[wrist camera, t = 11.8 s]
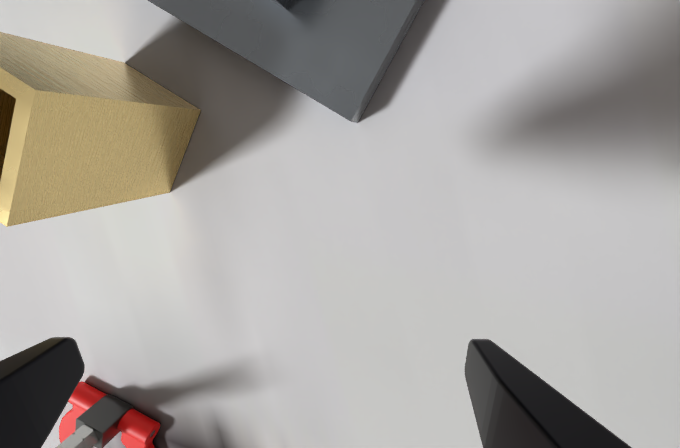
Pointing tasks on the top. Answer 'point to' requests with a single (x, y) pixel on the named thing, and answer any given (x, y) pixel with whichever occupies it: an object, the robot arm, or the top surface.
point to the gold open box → (82, 132)
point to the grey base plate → (309, 41)
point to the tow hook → (103, 421)
